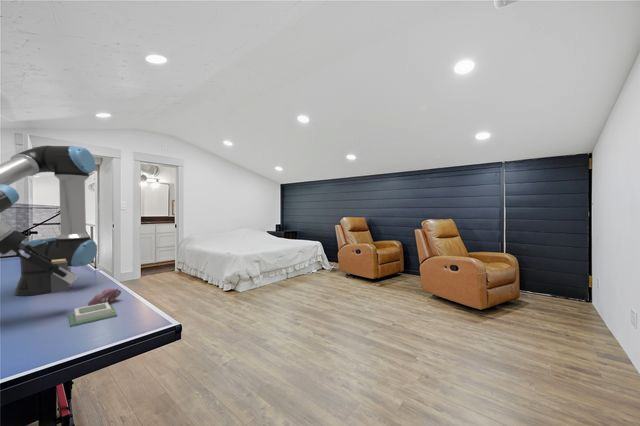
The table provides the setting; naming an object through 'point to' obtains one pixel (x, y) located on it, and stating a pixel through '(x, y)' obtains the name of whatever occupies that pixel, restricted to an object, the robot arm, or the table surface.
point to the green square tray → (91, 314)
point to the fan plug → (57, 282)
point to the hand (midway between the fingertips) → (73, 279)
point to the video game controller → (105, 296)
